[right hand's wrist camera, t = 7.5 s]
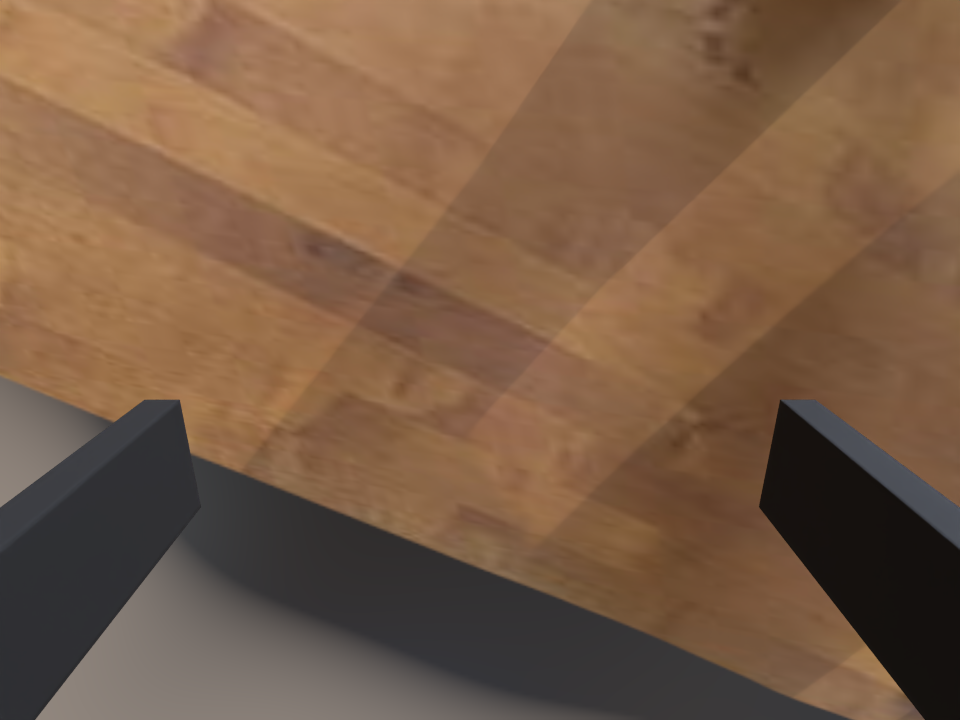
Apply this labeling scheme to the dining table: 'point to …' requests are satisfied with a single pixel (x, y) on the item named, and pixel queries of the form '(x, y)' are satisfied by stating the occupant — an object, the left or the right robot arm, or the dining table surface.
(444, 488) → the dining table surface
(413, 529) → the dining table surface
